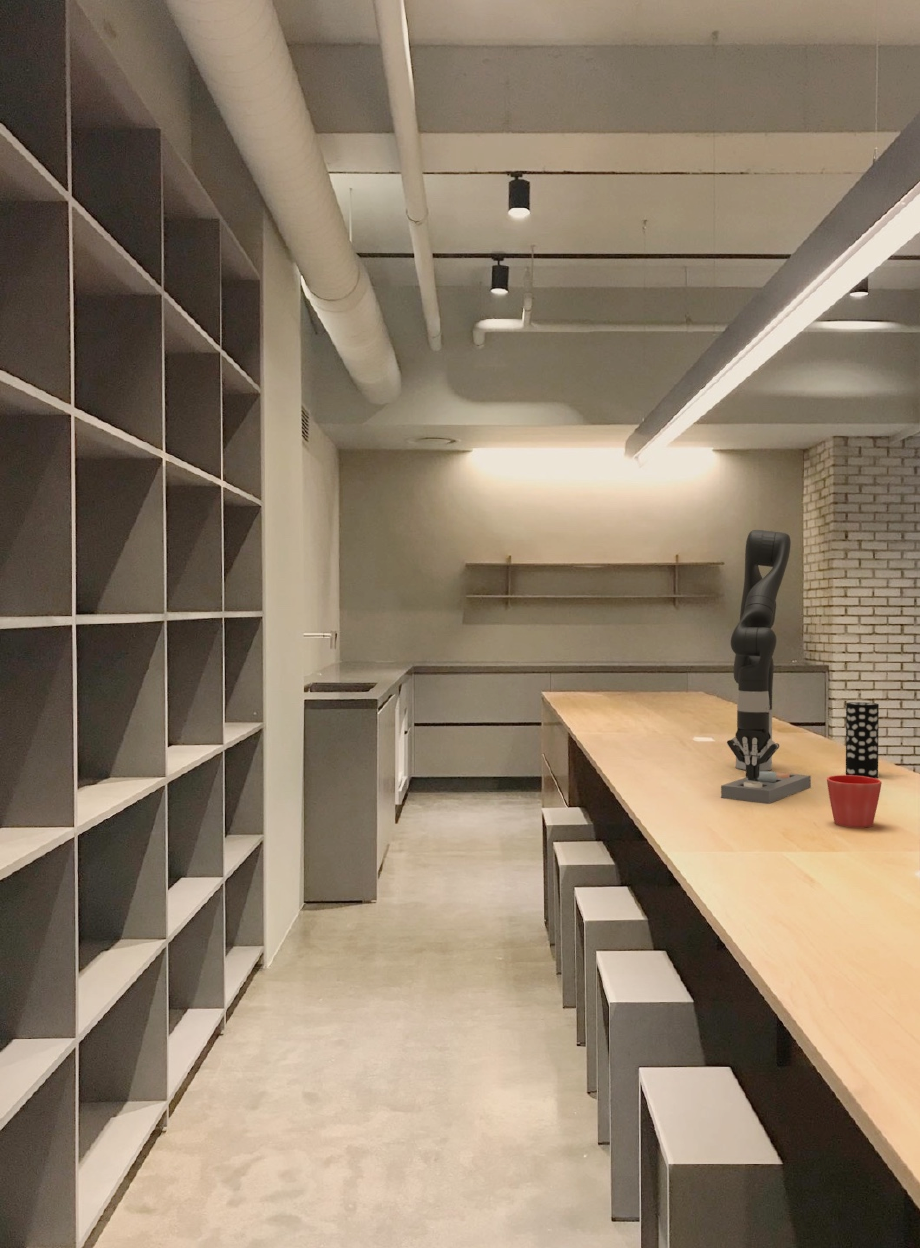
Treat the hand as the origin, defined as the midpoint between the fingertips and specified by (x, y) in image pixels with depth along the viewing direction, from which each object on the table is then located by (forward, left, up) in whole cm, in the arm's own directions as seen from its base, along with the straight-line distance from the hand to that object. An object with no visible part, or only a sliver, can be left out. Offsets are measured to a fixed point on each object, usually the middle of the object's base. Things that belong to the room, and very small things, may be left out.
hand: (752, 780), depth 251 cm
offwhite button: (0, 0, -4) cm, 4 cm away
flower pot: (+29, -16, -5) cm, 34 cm away
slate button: (0, +9, -2) cm, 9 cm away
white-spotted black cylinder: (+11, +49, -5) cm, 50 cm away
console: (0, +9, -4) cm, 10 cm away
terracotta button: (0, +18, -4) cm, 18 cm away
